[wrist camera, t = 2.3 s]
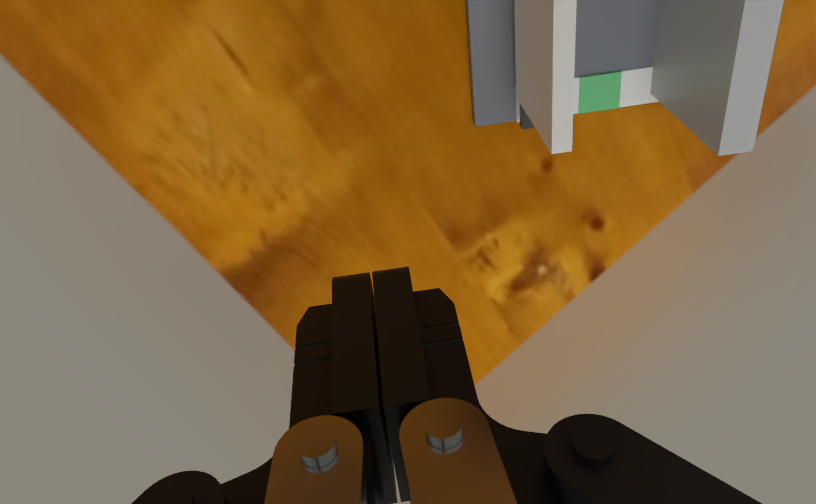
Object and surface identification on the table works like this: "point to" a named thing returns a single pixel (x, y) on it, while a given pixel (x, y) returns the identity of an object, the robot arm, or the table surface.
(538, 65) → the panel
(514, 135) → the table surface
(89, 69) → the table surface
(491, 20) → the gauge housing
